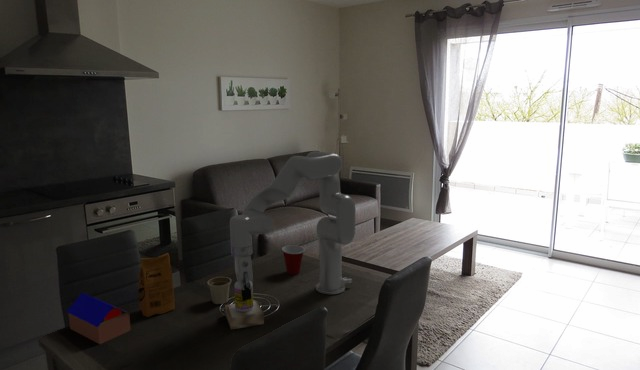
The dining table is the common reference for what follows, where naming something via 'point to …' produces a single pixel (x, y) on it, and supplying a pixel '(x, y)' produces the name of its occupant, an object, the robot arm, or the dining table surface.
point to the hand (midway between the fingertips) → (244, 294)
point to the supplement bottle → (239, 303)
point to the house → (97, 319)
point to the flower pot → (219, 289)
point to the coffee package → (156, 286)
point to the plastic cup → (293, 258)
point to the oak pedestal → (244, 316)
